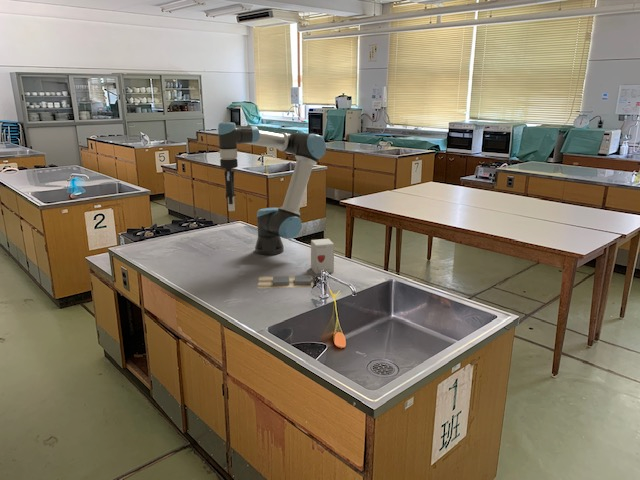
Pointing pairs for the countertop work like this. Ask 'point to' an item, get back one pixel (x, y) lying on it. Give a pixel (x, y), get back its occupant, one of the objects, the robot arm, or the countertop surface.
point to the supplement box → (322, 255)
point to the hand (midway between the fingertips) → (231, 210)
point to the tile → (280, 280)
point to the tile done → (303, 280)
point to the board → (268, 283)
